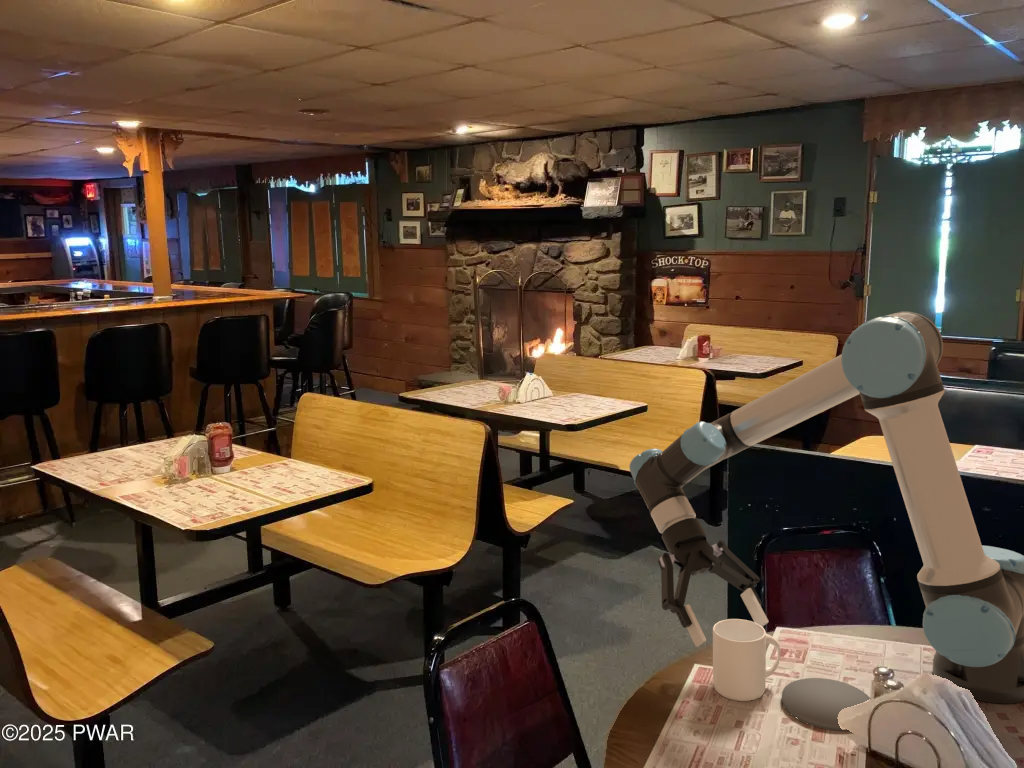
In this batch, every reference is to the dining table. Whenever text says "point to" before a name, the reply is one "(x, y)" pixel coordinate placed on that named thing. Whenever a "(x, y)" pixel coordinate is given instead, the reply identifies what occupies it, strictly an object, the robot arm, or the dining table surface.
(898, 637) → the dining table surface
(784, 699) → the coaster mat
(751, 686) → the mug
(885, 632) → the dining table surface
